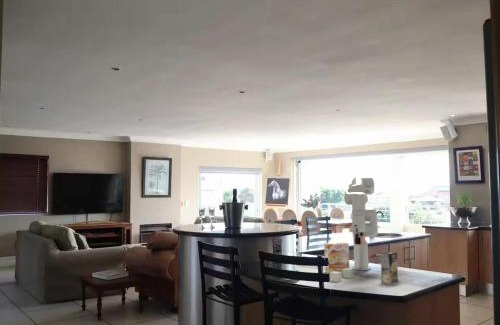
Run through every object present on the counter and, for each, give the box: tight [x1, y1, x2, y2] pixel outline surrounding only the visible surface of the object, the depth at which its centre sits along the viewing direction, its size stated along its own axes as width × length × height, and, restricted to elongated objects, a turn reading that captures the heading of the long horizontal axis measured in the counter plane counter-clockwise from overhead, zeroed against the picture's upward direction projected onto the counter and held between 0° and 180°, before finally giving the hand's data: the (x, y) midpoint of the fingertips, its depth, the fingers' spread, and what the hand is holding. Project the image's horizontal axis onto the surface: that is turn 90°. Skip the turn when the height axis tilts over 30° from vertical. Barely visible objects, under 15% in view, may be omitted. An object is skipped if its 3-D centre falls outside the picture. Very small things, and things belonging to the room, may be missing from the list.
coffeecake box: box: [323, 242, 350, 274], centre depth 284 cm, size 15×7×20 cm, turn 101°
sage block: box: [342, 267, 354, 279], centre depth 268 cm, size 5×5×5 cm
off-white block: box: [329, 272, 343, 283], centre depth 257 cm, size 5×5×5 cm
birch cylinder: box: [381, 274, 393, 285], centre depth 247 cm, size 5×5×5 cm
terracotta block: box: [353, 236, 366, 246], centre depth 256 cm, size 5×5×5 cm
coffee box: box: [380, 251, 399, 282], centre depth 257 cm, size 9×6×16 cm
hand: (359, 243), depth 256 cm, fingers closed on terracotta block, 5 cm apart
